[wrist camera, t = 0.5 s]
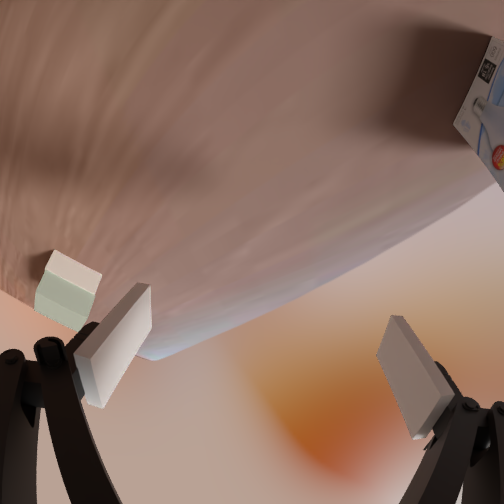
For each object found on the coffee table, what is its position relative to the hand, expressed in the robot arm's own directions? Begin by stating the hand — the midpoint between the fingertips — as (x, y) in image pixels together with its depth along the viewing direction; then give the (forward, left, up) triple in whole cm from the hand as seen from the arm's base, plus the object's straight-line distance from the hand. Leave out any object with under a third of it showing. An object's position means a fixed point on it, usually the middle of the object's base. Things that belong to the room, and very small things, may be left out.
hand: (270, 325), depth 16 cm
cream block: (+22, -32, -17) cm, 42 cm away
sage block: (+22, -32, -13) cm, 41 cm away
